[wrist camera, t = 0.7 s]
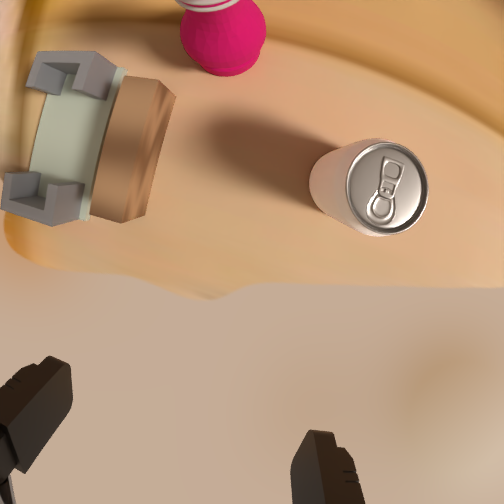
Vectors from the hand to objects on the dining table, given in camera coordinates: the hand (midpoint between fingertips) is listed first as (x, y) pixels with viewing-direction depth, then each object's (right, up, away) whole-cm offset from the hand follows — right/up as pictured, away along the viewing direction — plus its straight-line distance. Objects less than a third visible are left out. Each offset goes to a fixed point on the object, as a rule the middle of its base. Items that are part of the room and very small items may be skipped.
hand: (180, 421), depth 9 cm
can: (+11, +12, +21) cm, 26 cm away
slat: (-8, +15, +20) cm, 27 cm away
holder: (-17, +17, +20) cm, 31 cm away
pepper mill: (0, +25, +18) cm, 31 cm away
